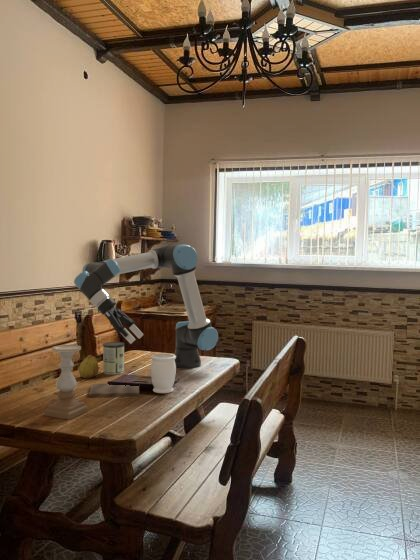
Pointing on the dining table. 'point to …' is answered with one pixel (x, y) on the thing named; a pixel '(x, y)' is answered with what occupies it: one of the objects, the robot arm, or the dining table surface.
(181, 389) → the dining table surface
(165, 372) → the jar
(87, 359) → the fruit
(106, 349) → the coffee can
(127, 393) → the walnut board
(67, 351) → the candle holder
